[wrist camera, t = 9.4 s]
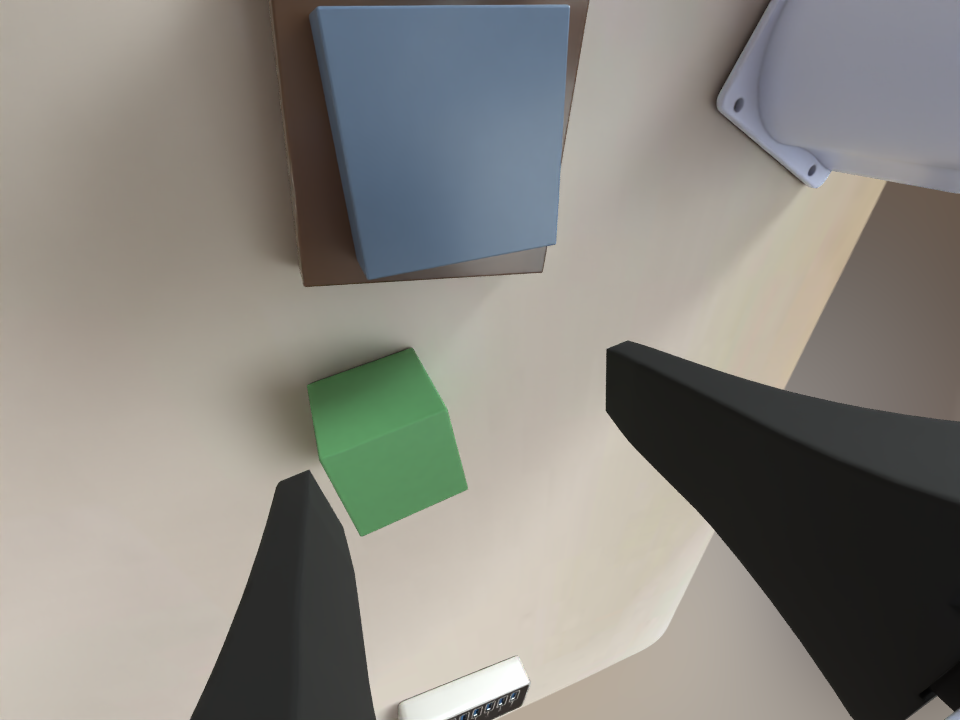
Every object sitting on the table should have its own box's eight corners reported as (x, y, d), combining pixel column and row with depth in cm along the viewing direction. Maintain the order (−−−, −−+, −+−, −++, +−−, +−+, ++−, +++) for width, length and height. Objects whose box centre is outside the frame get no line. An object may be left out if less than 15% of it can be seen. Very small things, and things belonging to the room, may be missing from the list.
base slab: (561, -7, 15) (593, -15, 13) (522, 258, 19) (543, 273, 18) (259, -72, 11) (260, -91, 10) (299, 268, 16) (303, 288, 15)
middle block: (538, 10, 13) (571, 4, 12) (531, 230, 17) (556, 245, 15) (307, 13, 11) (315, 6, 10) (357, 261, 15) (367, 281, 13)
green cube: (412, 346, 20) (447, 408, 16) (434, 422, 22) (468, 489, 19) (306, 384, 18) (318, 460, 15) (342, 458, 21) (360, 538, 18)
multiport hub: (512, 679, 42) (523, 706, 41) (396, 728, 38) (403, 760, 36) (519, 654, 40) (532, 681, 38) (398, 703, 36) (406, 736, 34)
